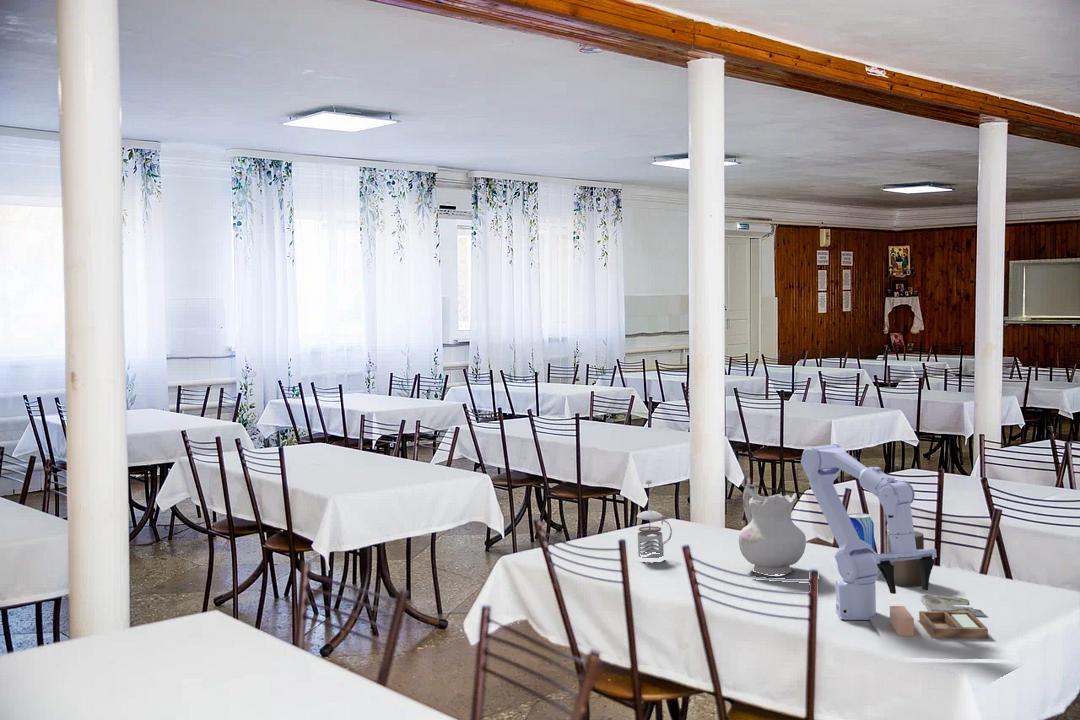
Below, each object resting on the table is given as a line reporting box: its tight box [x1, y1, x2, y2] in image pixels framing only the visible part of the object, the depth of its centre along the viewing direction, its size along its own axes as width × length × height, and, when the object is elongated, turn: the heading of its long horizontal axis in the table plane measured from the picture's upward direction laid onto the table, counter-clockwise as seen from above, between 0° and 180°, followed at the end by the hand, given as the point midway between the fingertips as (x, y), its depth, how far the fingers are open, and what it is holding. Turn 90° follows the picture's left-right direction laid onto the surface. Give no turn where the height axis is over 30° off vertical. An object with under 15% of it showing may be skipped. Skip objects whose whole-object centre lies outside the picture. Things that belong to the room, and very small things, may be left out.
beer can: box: [847, 512, 875, 551], centre depth 300 cm, size 8×8×16 cm
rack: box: [917, 610, 991, 640], centre depth 240 cm, size 13×14×3 cm
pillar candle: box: [886, 530, 925, 587], centre depth 285 cm, size 10×10×15 cm
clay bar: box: [889, 605, 915, 637], centre depth 242 cm, size 3×10×5 cm, turn 172°
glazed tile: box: [951, 614, 979, 628], centre depth 240 cm, size 3×10×2 cm, turn 173°
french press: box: [636, 479, 673, 558], centre depth 320 cm, size 10×12×25 cm
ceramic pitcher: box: [738, 483, 807, 575], centre depth 302 cm, size 22×20×25 cm
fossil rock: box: [920, 593, 989, 618], centre depth 259 cm, size 18×15×2 cm
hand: (909, 591), depth 241 cm, fingers open, 7 cm apart
